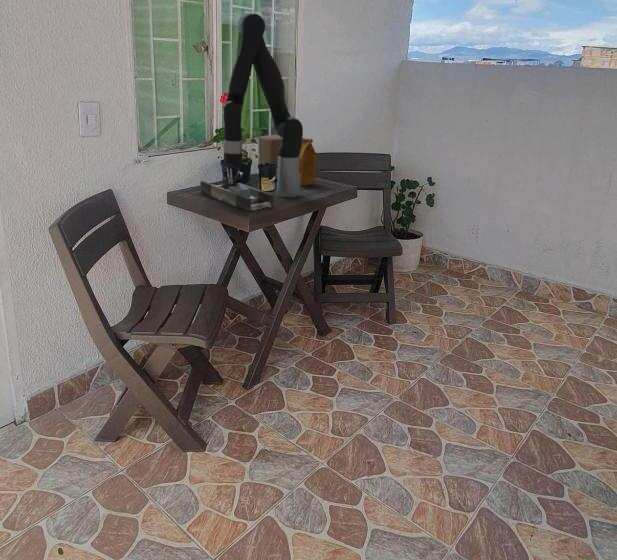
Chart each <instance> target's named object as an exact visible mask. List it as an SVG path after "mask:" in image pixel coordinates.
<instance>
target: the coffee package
mask: <svg viewBox="0 0 617 560" xmlns="http://www.w3.org/2000/svg"><path fill="white" fill-rule="evenodd" d="M313 142H314V140H313V139H312V138H305V137H304V138H303V137H302V148H301V151H300V154H299V173H300V187H305V186H311V185H312V186H313V185H315V183H316V174H317V173H316V172H317V171H316V167H317V153H316V151H315V148H314V146H313V144H312V143H313Z"/></svg>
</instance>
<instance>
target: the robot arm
mask: <svg viewBox="0 0 617 560" xmlns="http://www.w3.org/2000/svg"><path fill="white" fill-rule="evenodd" d="M237 30H238V32H239V34H240V37H241V45H240V49H239V53H238V56H237V58H236V59H235V63H234V66H233V68H232V71H231V74H230V80H229V84H228V94H227V97H226V100H225V105H224V106H223V121H224V122H223V124H224V130H223V131H224V132H223V136H224V137H223V139H224V140H223V162H224V163H225V167H223V168H222V169H221V170H222V173H223V176H224V178H226V181H228V182H229V184H230V187H231V186H236V184H238V183H241V181H242V180H243V178H244V176H245V174H244V172H242V171H241V164H242V163H243V141H242V134H243V131H242V113H243V106H244V103H245V96H246V94H247V90H248V86H249V82H250V79H251V78H250V77H251V73H252V68H253V69H254V71H255V75H256V78H257V80H258V82H259V85H260V88H261V90H262V93H263V96H264V98H265V101H266V104H267V106H268V108H269V111H270V114H271V118H272V122H273V125H274V128H275V129H274V130H275V131H276V133H277V136H280V137H282V138H283V141H282V147H281V148H279V149H278V172H277V180H276V184H277V185H276V195H277V196H278V197H281V198H286V197H289V198H290V197H291V198H297V197H298V196H300V190H301V186H300V173H299V154H300V151H301V148H302V138H303V135H304V128H303V124H302V122H301V121H300V120H299V119H297V118H294V117H292V116H291V114H290V112H289V110H288V108H287V104H286V99H285V97H286V96H285V83H284V80H283V76H282V74H281V71H280V68H279V67H278V64H277V62H276V61H275V59H274V57H273V56H272V54H271V52H270V50H269V49H268V47H267V45H266V42H265V40H264V33H265V31H266V22H265V20H264V18H263V17H262V16H261V15H260V14H258V13H255V12H245V13H242V14H241V15H240V16H239V18H238V21H237ZM289 198H288V199H289ZM291 198H290V199H291Z"/></svg>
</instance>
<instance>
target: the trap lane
mask: <svg viewBox="0 0 617 560" xmlns="http://www.w3.org/2000/svg"><path fill="white" fill-rule="evenodd" d="M221 179H222V180H221V181H222V182H221V184H219V185H218V184H217V185H215V184H212V183H210V182H207V181H205V180H200V193H202V194H204V195H207V196H209V197H212V198H214V199H216V200H219V201H221V202H224V203H225V204H229V205H231V206H234V207H236V208H239V209H242V210H244V211H246V210H247V212H252V210H253V211H258V210H257V209H259V210H262V208H264V209H267V208H266V207H269V208H272V207H271V206H273V207H274V194H272V193H269V192H266V191H264V190H260V189H258V188H255V187H252V186H250V185H247V184H244V183H242V182H240V183H238V184H236V186H240V185H242V186H244V187H247V188H249V189H250V198H248V197H245V196H242V195H240V194H237V193H234V192H232V191H229V187H230V184H229V182H228V181H226V178H225V177H222V178H221Z"/></svg>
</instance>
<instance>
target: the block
mask: <svg viewBox="0 0 617 560" xmlns="http://www.w3.org/2000/svg"><path fill="white" fill-rule="evenodd" d="M282 141H283V138H282V137H280V136H279V135H275V134H269V135H261V136H259V137H258V162H257V163H258V164H264V163H270V164H276V165H277V172H278V149H279V148H281V147H282ZM276 179H277V174H276Z"/></svg>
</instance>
